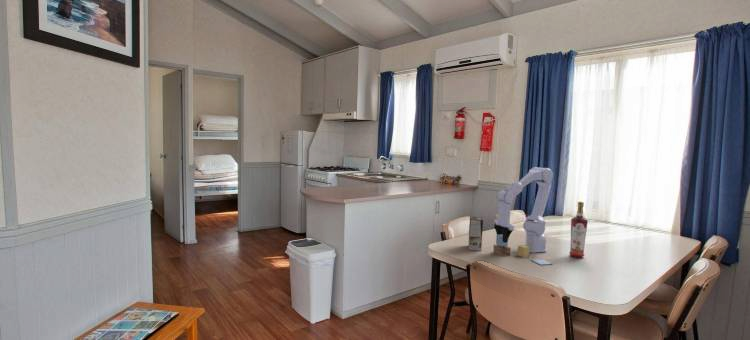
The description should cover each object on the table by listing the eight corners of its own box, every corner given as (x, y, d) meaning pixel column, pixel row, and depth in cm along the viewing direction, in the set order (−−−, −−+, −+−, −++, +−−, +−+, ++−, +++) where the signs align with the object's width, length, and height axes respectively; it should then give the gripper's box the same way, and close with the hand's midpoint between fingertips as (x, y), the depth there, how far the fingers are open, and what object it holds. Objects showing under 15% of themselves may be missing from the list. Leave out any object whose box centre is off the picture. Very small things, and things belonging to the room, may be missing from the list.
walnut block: (504, 252, 193) (504, 244, 193) (510, 255, 187) (510, 248, 187) (493, 252, 192) (493, 244, 192) (499, 256, 186) (499, 248, 186)
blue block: (502, 243, 192) (503, 234, 191) (507, 245, 188) (508, 236, 187) (496, 244, 190) (496, 234, 190) (500, 246, 187) (501, 236, 186)
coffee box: (481, 251, 193) (483, 220, 191) (468, 250, 194) (470, 219, 193) (480, 246, 202) (481, 217, 200) (468, 245, 203) (469, 216, 201)
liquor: (569, 257, 186) (573, 202, 184) (567, 253, 193) (571, 200, 191) (585, 259, 184) (590, 203, 181) (583, 255, 190) (587, 201, 188)
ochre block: (522, 254, 190) (523, 244, 189) (529, 256, 186) (529, 246, 186) (517, 255, 188) (517, 245, 187) (523, 257, 184) (524, 247, 184)
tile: (542, 259, 181) (542, 259, 181) (552, 264, 175) (552, 263, 175) (530, 260, 179) (530, 259, 179) (540, 265, 173) (540, 264, 173)
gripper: (489, 211, 194) (487, 237, 195) (505, 217, 180) (504, 245, 181) (500, 211, 196) (499, 236, 197) (518, 217, 182) (516, 244, 183)
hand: (502, 240), depth 189 cm, fingers closed on blue block, 4 cm apart
